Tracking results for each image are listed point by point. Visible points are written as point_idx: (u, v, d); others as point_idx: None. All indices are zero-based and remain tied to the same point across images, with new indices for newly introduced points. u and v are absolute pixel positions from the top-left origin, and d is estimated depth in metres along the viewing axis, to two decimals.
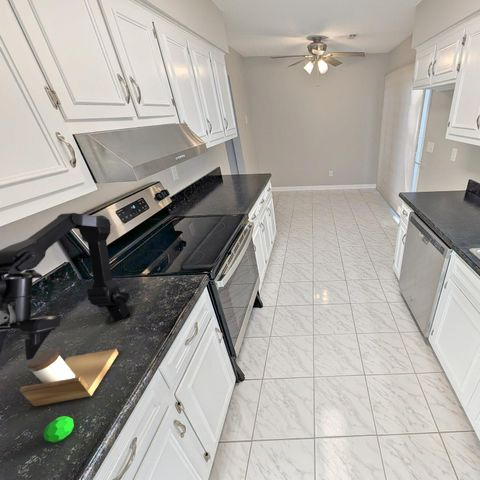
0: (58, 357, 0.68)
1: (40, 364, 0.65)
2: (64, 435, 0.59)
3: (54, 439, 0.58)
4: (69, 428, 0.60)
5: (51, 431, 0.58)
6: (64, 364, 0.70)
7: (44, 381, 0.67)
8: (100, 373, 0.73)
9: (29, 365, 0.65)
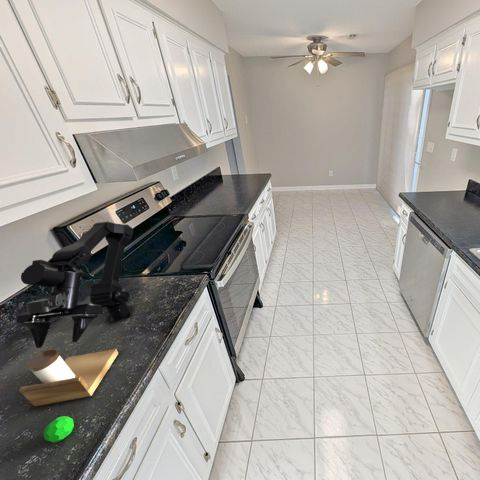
0: (58, 357, 0.68)
1: (40, 364, 0.65)
2: (64, 435, 0.59)
3: (54, 439, 0.58)
4: (69, 428, 0.60)
5: (51, 431, 0.58)
6: (64, 364, 0.70)
7: (44, 381, 0.67)
8: (100, 373, 0.73)
9: (29, 365, 0.65)
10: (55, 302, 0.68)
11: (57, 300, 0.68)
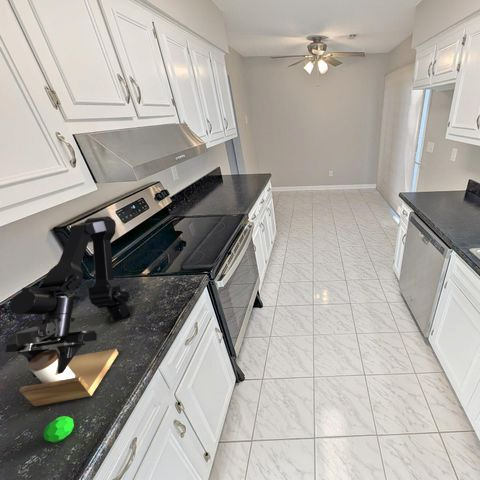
0: (58, 357, 0.68)
1: (40, 364, 0.65)
2: (64, 435, 0.59)
3: (54, 439, 0.58)
4: (69, 428, 0.60)
5: (51, 431, 0.58)
6: None
7: (44, 381, 0.67)
8: (100, 373, 0.73)
9: (29, 365, 0.65)
10: (46, 332, 0.65)
11: (48, 329, 0.65)
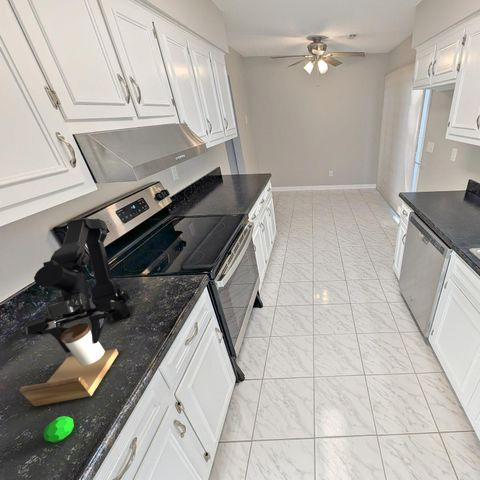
0: (89, 328, 0.69)
1: (77, 334, 0.66)
2: (64, 435, 0.59)
3: (54, 439, 0.58)
4: (69, 428, 0.60)
5: (51, 431, 0.58)
6: None
7: (80, 353, 0.67)
8: (100, 373, 0.73)
9: (63, 338, 0.65)
10: (80, 301, 0.66)
11: (81, 299, 0.66)
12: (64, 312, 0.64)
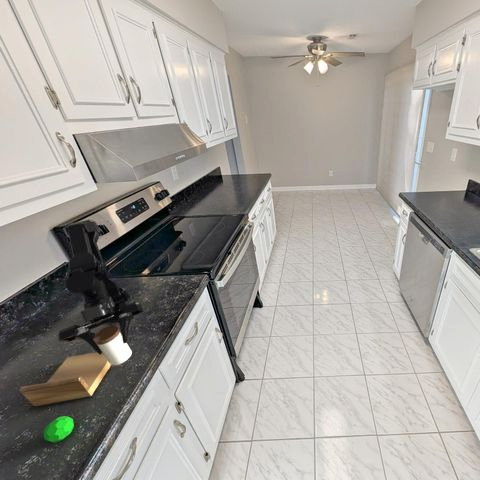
0: (118, 329, 0.74)
1: (110, 335, 0.70)
2: (64, 435, 0.59)
3: (54, 439, 0.58)
4: (69, 428, 0.60)
5: (51, 431, 0.58)
6: None
7: (113, 353, 0.72)
8: (100, 373, 0.73)
9: (97, 340, 0.69)
10: (111, 303, 0.71)
11: (111, 302, 0.71)
12: (98, 315, 0.68)
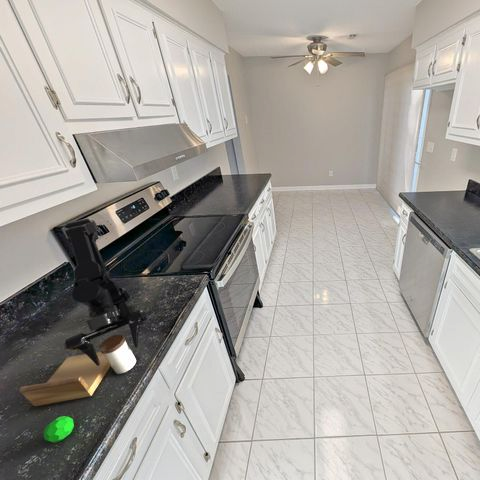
0: (123, 338, 0.75)
1: (115, 344, 0.72)
2: (64, 435, 0.59)
3: (54, 439, 0.58)
4: (69, 428, 0.60)
5: (51, 431, 0.58)
6: None
7: (118, 361, 0.73)
8: (100, 373, 0.73)
9: (103, 349, 0.71)
10: (116, 312, 0.72)
11: (116, 310, 0.72)
12: (103, 324, 0.70)
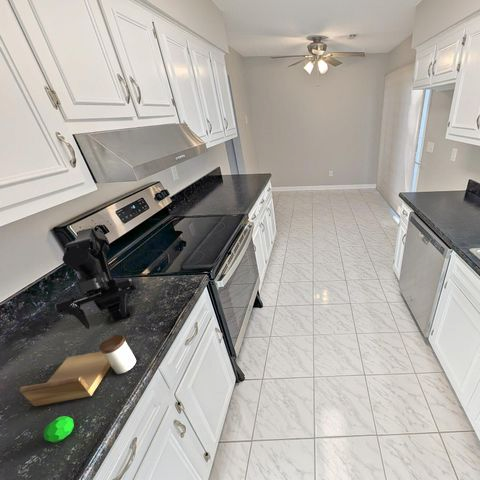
0: (123, 338, 0.75)
1: (115, 344, 0.72)
2: (64, 435, 0.59)
3: (54, 439, 0.58)
4: (69, 428, 0.60)
5: (51, 431, 0.58)
6: None
7: (118, 361, 0.73)
8: (100, 373, 0.73)
9: (103, 349, 0.71)
10: (105, 278, 0.75)
11: (105, 276, 0.76)
12: (93, 288, 0.73)
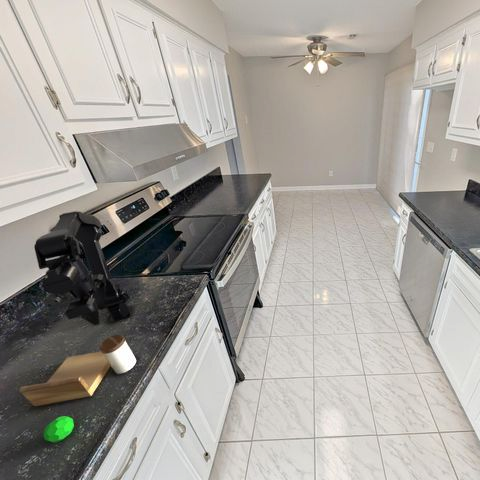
0: (123, 338, 0.75)
1: (115, 344, 0.72)
2: (64, 435, 0.59)
3: (54, 439, 0.58)
4: (69, 428, 0.60)
5: (51, 431, 0.58)
6: None
7: (118, 361, 0.73)
8: (100, 373, 0.73)
9: (103, 349, 0.71)
10: (46, 306, 0.69)
11: (47, 304, 0.69)
12: None
